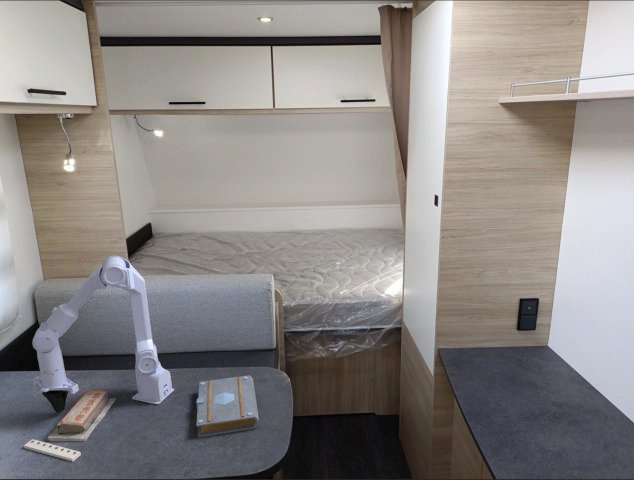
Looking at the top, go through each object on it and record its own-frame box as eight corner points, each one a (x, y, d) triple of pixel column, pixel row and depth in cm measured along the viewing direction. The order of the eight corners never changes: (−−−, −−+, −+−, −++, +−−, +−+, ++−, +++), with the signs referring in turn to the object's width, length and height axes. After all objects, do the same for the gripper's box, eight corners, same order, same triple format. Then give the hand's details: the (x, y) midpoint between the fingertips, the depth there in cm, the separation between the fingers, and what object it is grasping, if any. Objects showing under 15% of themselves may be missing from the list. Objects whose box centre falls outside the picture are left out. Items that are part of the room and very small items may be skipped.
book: (259, 429, 123) (258, 413, 122) (196, 439, 120) (194, 422, 119) (253, 386, 143) (252, 372, 142) (199, 394, 140) (197, 379, 138)
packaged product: (80, 387, 136) (114, 387, 136) (83, 402, 137) (116, 401, 137) (44, 427, 118) (83, 426, 118) (48, 443, 120) (85, 442, 119)
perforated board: (81, 454, 115) (80, 451, 114) (72, 461, 112) (72, 458, 112) (33, 441, 120) (32, 438, 119) (24, 448, 117) (23, 445, 117)
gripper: (19, 371, 125) (28, 414, 129) (60, 379, 121) (68, 424, 124) (42, 358, 132) (50, 400, 135) (81, 366, 127) (88, 408, 131)
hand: (60, 410), depth 130 cm, fingers closed
